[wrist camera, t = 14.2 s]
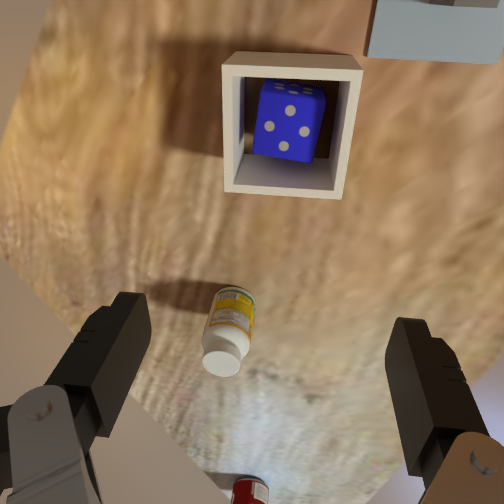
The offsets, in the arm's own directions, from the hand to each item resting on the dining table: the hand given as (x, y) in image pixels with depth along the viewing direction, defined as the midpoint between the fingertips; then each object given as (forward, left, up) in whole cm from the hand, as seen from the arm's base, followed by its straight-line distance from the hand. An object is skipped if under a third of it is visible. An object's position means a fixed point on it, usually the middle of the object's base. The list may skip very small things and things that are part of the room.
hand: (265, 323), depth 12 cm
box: (0, 0, -26) cm, 26 cm away
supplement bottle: (+23, -5, -26) cm, 35 cm away
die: (0, 0, -26) cm, 26 cm away
